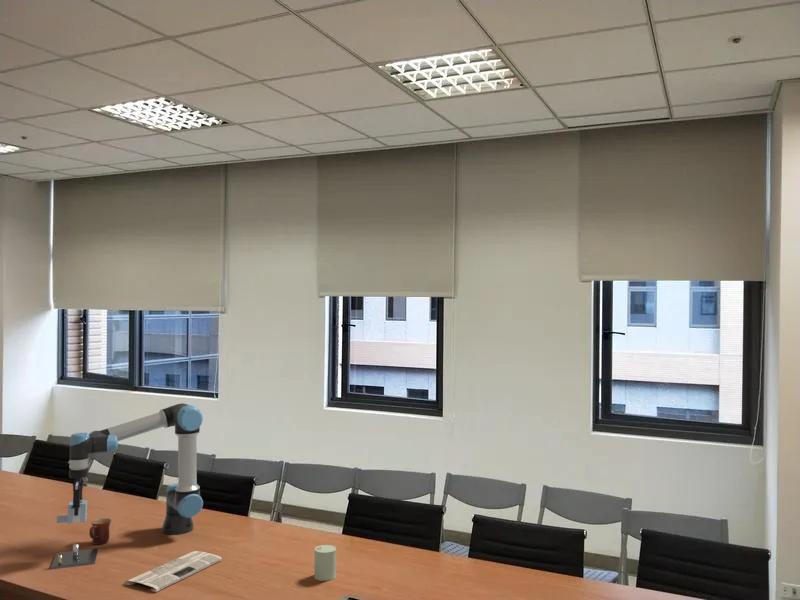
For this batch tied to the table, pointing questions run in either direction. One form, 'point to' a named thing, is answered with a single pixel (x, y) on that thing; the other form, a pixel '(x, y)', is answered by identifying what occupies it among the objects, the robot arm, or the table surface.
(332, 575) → the can
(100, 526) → the mug
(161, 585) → the newspaper
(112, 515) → the table surface
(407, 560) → the table surface
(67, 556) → the post plate
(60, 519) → the hollow square cube
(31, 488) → the table surface
